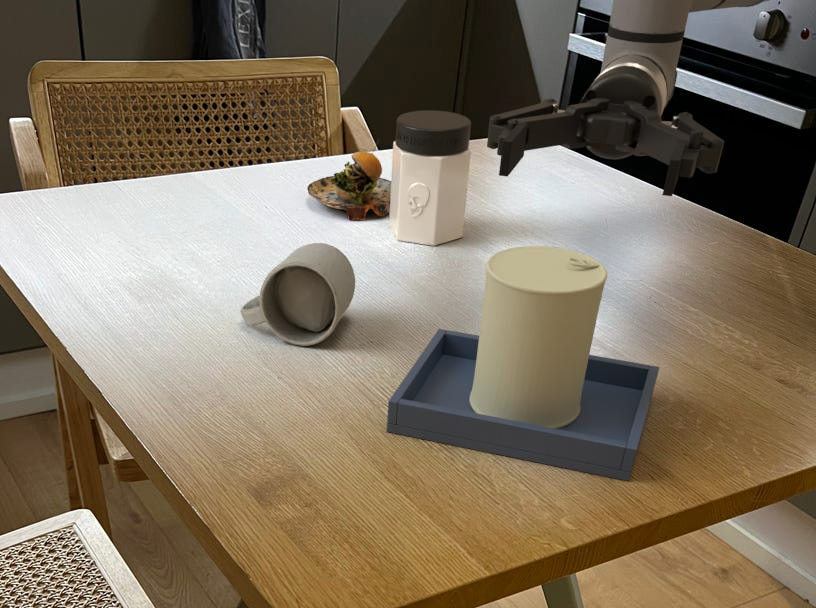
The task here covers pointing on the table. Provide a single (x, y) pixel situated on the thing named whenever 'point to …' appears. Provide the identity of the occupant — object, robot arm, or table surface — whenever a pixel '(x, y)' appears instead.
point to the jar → (429, 177)
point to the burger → (355, 188)
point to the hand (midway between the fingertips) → (586, 168)
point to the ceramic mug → (304, 295)
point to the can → (536, 334)
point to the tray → (565, 447)
